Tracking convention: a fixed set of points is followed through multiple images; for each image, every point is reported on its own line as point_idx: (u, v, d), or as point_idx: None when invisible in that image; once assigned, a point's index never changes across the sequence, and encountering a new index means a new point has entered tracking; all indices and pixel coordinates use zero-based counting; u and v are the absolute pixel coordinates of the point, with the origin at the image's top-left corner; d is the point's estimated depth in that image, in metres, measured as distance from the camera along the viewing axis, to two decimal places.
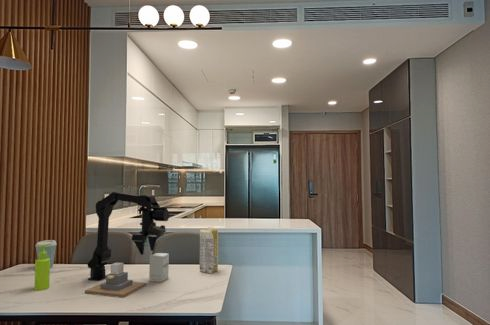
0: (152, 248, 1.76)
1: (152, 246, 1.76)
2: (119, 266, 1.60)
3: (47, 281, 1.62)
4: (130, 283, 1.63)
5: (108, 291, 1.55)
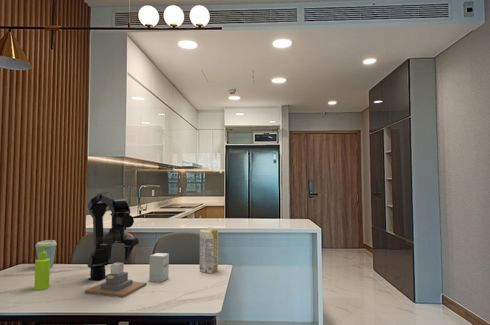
0: None
1: None
2: (119, 266, 1.60)
3: (47, 281, 1.62)
4: (130, 283, 1.63)
5: (108, 291, 1.55)
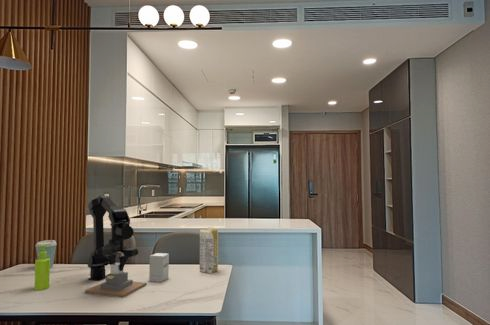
0: None
1: None
2: (119, 266, 1.60)
3: (47, 281, 1.62)
4: (130, 283, 1.63)
5: (108, 291, 1.55)
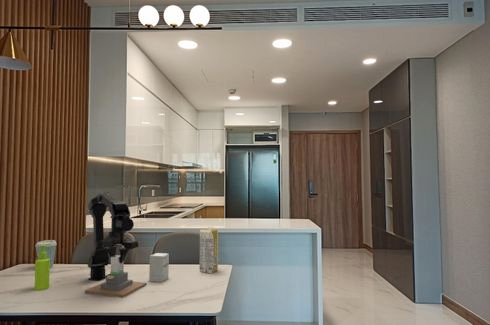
0: None
1: None
2: (119, 258, 1.60)
3: (47, 281, 1.62)
4: (130, 283, 1.63)
5: (108, 291, 1.55)
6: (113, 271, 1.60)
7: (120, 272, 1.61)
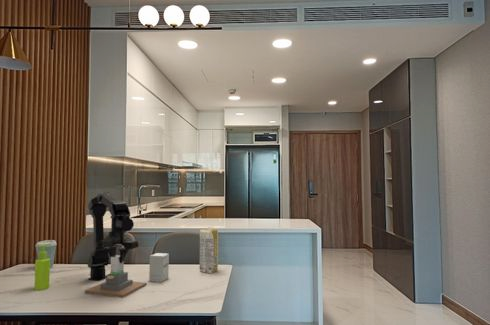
0: None
1: None
2: (119, 258, 1.60)
3: (47, 281, 1.62)
4: (130, 283, 1.63)
5: (108, 291, 1.55)
6: (113, 271, 1.60)
7: (120, 272, 1.61)
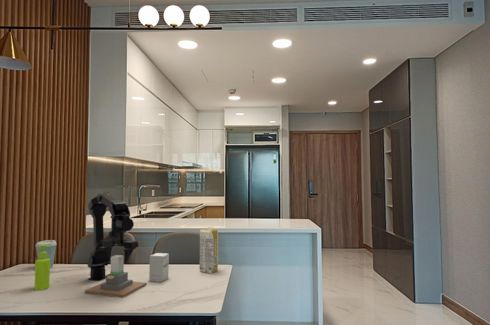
0: None
1: None
2: (119, 258, 1.60)
3: (47, 281, 1.62)
4: (130, 283, 1.63)
5: (108, 291, 1.55)
6: (113, 271, 1.60)
7: (120, 272, 1.61)
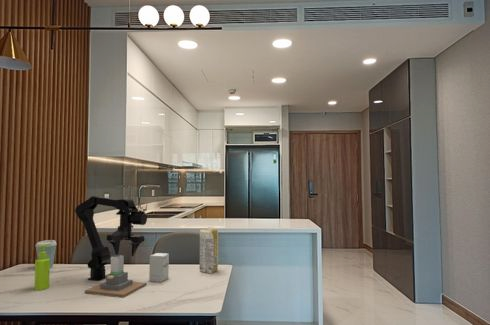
0: None
1: None
2: (119, 258, 1.60)
3: (47, 281, 1.62)
4: (130, 283, 1.63)
5: (108, 291, 1.55)
6: (113, 271, 1.60)
7: (120, 272, 1.61)
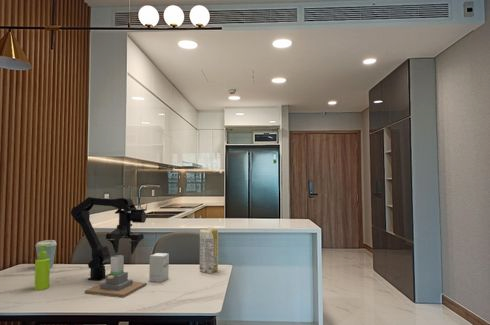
0: None
1: None
2: (119, 258, 1.60)
3: (47, 281, 1.62)
4: (130, 283, 1.63)
5: (108, 291, 1.55)
6: (113, 271, 1.60)
7: (120, 272, 1.61)
